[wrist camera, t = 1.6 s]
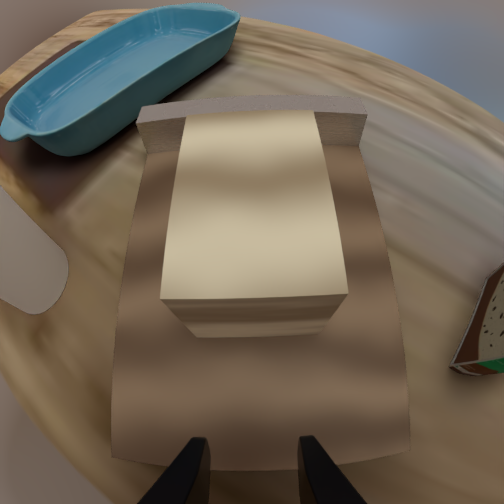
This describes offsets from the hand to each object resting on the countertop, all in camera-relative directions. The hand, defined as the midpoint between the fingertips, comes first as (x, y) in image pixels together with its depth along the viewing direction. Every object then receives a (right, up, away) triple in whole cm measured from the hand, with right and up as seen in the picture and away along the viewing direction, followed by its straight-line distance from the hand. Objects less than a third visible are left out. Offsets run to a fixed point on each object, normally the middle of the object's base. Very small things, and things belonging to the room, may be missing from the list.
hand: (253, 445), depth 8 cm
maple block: (0, +5, +15) cm, 16 cm away
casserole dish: (-17, +29, +30) cm, 45 cm away
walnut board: (0, +4, +16) cm, 17 cm away
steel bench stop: (0, +16, +21) cm, 26 cm away
